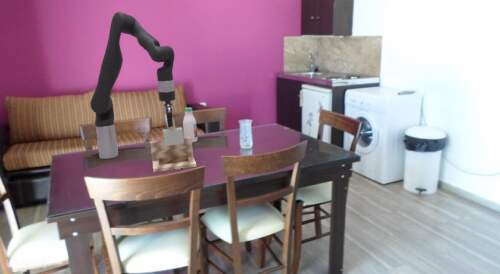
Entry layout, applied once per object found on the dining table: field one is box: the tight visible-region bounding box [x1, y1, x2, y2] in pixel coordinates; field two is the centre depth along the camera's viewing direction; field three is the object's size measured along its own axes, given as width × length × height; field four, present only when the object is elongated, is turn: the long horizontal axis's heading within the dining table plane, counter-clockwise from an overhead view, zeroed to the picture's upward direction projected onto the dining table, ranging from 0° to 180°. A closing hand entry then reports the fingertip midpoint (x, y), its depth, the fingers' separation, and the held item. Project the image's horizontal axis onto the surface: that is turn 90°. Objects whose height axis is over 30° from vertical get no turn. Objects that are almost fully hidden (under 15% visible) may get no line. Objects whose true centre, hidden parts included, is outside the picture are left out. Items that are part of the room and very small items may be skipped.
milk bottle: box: [182, 106, 199, 144], centre depth 226 cm, size 8×8×20 cm
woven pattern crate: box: [149, 137, 197, 173], centre depth 187 cm, size 20×14×11 cm
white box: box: [162, 116, 184, 146], centre depth 185 cm, size 9×5×13 cm, turn 105°
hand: (170, 126), depth 185 cm, fingers closed on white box
